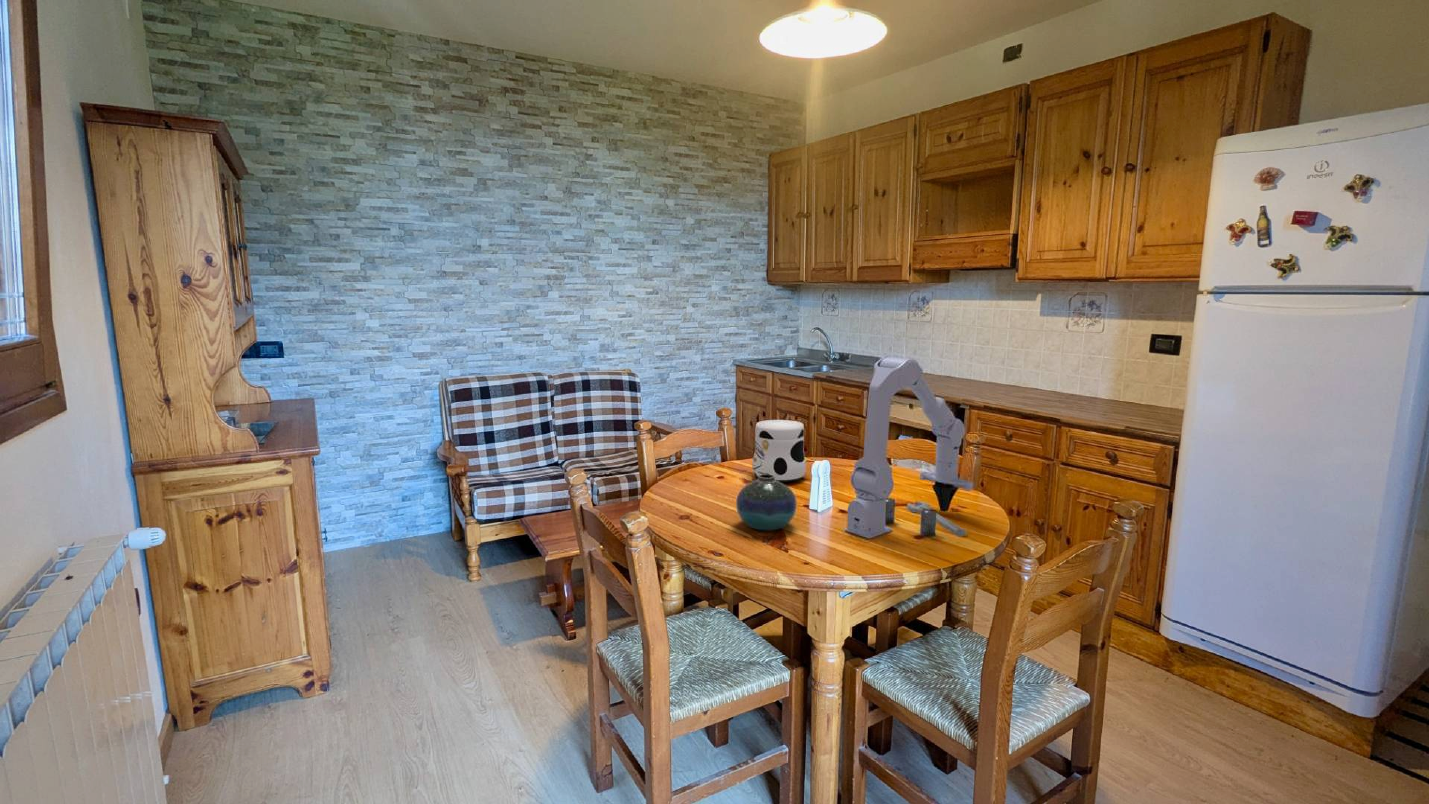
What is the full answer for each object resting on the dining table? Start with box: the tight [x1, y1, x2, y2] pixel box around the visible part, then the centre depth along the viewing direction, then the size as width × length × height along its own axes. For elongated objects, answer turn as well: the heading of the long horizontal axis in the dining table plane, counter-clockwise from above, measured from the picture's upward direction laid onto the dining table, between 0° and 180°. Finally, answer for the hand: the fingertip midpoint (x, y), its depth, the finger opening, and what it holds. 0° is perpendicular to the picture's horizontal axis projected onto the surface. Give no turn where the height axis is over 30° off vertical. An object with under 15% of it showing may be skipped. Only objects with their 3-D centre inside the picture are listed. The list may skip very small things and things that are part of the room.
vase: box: [735, 474, 798, 532], centre depth 170 cm, size 15×15×13 cm
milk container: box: [751, 419, 807, 483], centre depth 215 cm, size 17×17×18 cm
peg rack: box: [885, 497, 937, 538], centre depth 170 cm, size 4×16×6 cm, turn 40°
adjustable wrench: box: [906, 500, 967, 537], centre depth 176 cm, size 25×6×2 cm, turn 8°
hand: (944, 510), depth 181 cm, fingers closed
